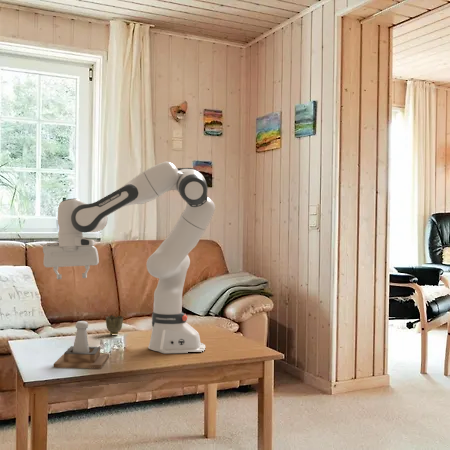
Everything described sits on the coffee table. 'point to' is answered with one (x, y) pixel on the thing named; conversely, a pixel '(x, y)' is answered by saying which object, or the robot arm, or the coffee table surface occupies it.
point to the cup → (114, 324)
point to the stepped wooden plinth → (82, 359)
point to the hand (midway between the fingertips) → (71, 278)
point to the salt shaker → (81, 338)
